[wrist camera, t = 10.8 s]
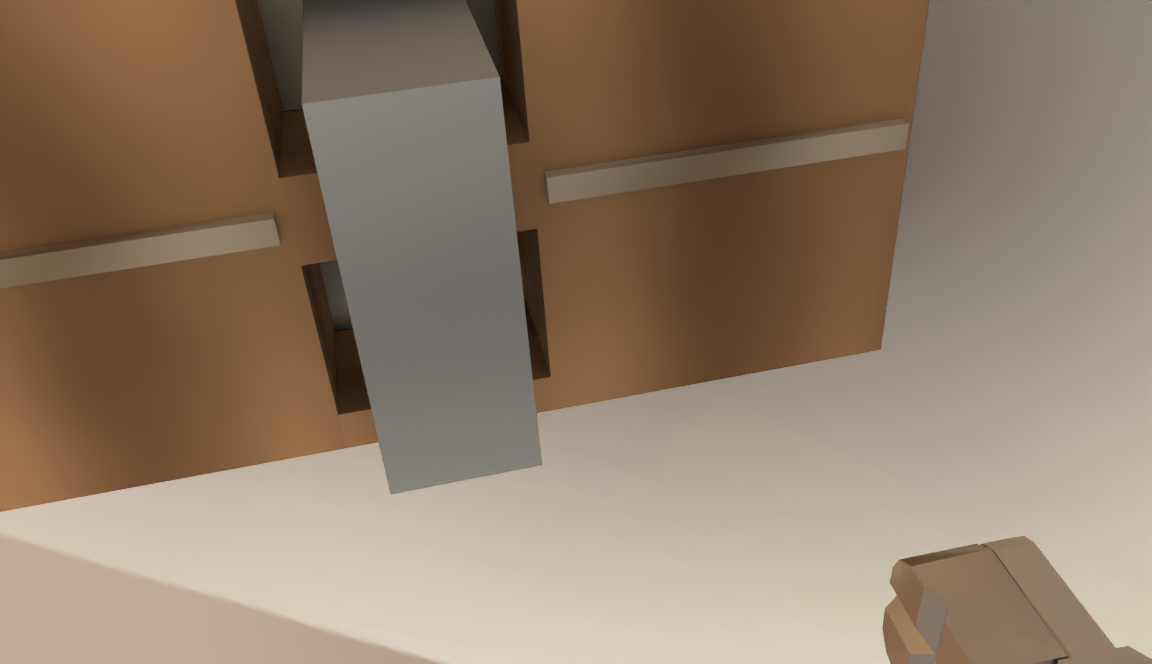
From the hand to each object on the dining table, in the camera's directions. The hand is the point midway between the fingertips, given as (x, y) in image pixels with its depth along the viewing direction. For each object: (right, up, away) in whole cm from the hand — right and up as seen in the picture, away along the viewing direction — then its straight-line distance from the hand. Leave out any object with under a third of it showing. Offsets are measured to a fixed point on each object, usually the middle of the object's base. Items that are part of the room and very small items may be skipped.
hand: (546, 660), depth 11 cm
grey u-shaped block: (-4, +8, +12) cm, 15 cm away
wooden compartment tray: (-4, +8, +12) cm, 15 cm away
